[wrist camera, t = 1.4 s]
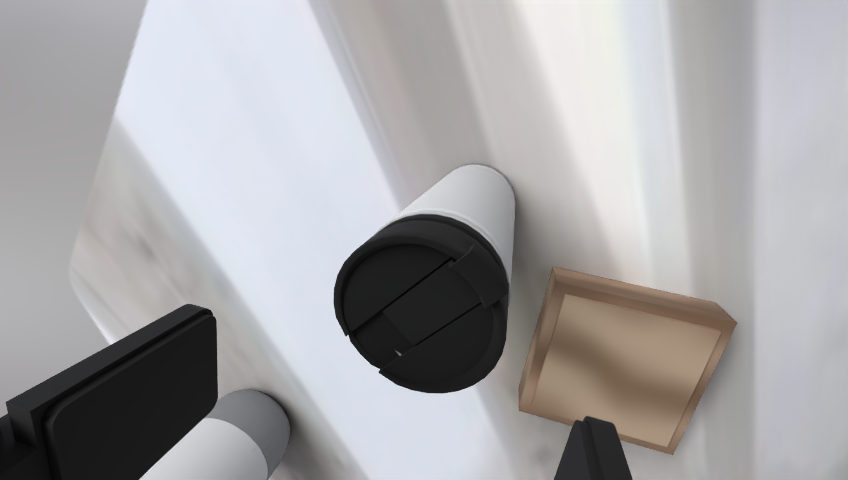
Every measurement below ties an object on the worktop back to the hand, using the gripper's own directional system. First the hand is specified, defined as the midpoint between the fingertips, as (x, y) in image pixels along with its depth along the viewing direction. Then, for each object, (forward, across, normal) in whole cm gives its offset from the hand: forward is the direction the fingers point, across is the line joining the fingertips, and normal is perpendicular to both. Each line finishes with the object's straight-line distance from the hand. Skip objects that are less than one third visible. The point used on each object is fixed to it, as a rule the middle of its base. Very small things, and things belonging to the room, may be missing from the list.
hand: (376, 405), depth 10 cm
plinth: (+23, -13, +9) cm, 28 cm away
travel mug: (+23, 0, -1) cm, 23 cm away
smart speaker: (+24, +19, +28) cm, 42 cm away
